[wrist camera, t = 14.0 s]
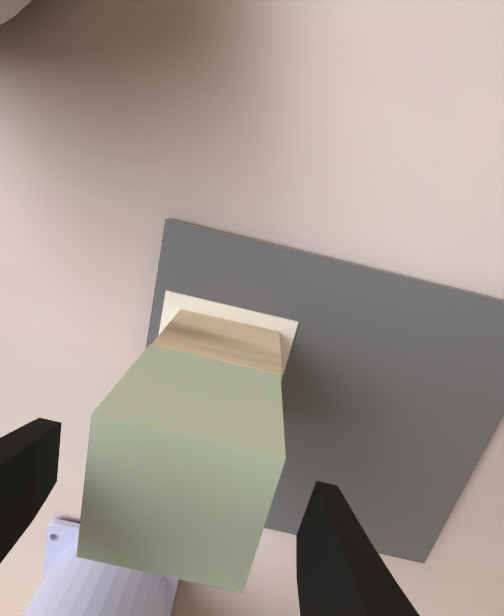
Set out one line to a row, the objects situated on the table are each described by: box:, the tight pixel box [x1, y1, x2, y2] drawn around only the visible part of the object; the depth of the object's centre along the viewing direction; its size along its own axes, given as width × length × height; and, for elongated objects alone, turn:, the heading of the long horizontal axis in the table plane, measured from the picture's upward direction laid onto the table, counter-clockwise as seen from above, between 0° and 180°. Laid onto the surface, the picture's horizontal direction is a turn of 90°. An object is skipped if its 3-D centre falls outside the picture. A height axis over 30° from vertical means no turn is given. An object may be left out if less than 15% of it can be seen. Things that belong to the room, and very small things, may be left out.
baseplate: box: [146, 219, 504, 563], centre depth 17 cm, size 15×17×1 cm
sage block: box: [76, 344, 286, 593], centre depth 10 cm, size 4×4×4 cm
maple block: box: [151, 309, 282, 377], centre depth 14 cm, size 4×4×4 cm
